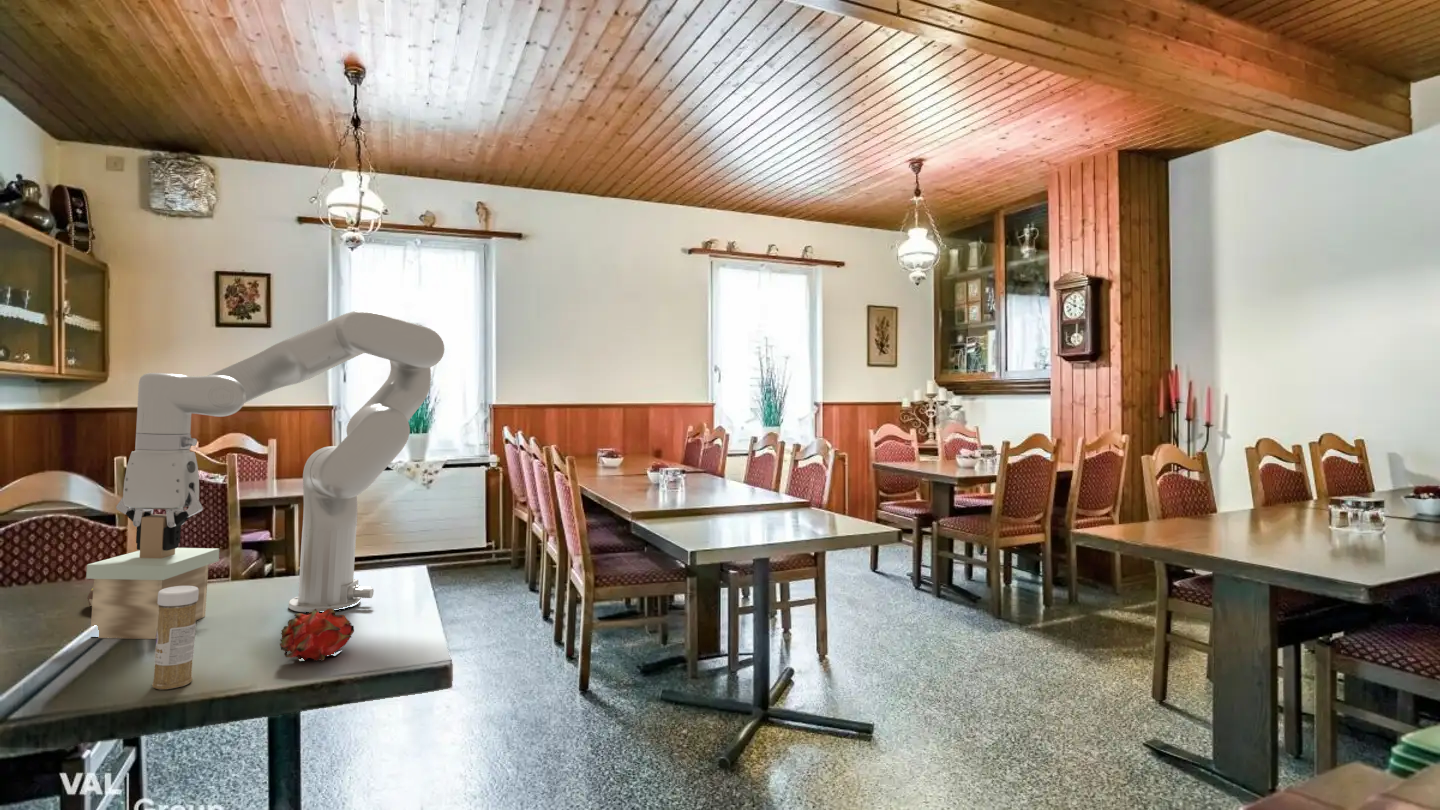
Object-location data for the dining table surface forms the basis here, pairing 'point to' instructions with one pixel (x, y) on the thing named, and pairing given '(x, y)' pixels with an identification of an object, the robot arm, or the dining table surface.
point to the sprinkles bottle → (175, 636)
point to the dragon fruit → (315, 634)
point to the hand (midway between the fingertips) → (157, 547)
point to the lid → (152, 557)
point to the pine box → (139, 604)
